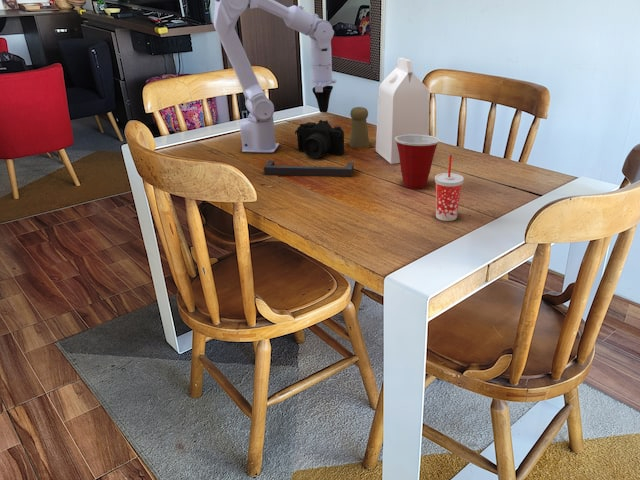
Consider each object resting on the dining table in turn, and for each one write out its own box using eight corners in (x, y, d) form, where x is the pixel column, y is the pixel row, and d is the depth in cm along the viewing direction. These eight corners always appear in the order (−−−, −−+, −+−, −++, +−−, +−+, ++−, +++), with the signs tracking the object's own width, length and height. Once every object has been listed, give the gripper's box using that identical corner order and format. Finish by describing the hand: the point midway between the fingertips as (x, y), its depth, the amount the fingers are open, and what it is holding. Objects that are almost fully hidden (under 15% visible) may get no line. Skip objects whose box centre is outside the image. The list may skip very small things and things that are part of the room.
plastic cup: (441, 179, 145) (444, 133, 140) (431, 194, 137) (434, 145, 131) (400, 175, 149) (401, 129, 143) (388, 189, 140) (389, 141, 134)
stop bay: (264, 174, 150) (263, 167, 149) (269, 167, 155) (268, 160, 154) (351, 176, 148) (351, 169, 147) (353, 169, 153) (353, 162, 152)
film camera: (286, 156, 162) (284, 125, 158) (301, 146, 170) (299, 116, 166) (336, 162, 158) (335, 130, 153) (348, 152, 166) (348, 121, 161)
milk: (429, 159, 160) (434, 61, 147) (391, 163, 156) (392, 64, 144) (411, 146, 169) (415, 54, 157) (375, 151, 166) (376, 57, 153)
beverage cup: (464, 220, 123) (470, 158, 117) (437, 223, 122) (441, 160, 115) (454, 209, 129) (459, 149, 122) (428, 212, 128) (432, 151, 121)
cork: (369, 147, 169) (369, 110, 164) (349, 147, 169) (348, 110, 164) (369, 141, 174) (369, 105, 169) (349, 141, 174) (349, 105, 169)
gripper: (332, 69, 158) (333, 118, 164) (338, 60, 170) (339, 106, 177) (306, 68, 158) (309, 117, 165) (315, 59, 171) (317, 105, 177)
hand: (323, 111), depth 171 cm, fingers closed
